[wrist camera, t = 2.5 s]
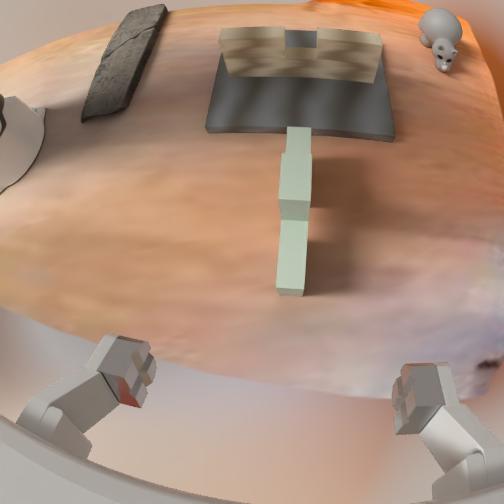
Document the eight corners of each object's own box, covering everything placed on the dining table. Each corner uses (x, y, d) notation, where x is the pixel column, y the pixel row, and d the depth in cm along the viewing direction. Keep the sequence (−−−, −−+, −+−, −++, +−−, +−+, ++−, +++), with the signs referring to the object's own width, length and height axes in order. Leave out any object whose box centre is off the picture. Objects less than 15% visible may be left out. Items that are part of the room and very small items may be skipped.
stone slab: (71, 119, 43) (123, 6, 48) (80, 128, 46) (128, 16, 51) (123, 110, 42) (168, -4, 47) (131, 121, 45) (172, 7, 50)
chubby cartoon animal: (415, 73, 42) (429, 54, 34) (414, 18, 40) (425, -5, 31) (453, 84, 41) (472, 68, 32) (450, 29, 38) (465, 8, 30)
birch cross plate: (208, 133, 40) (188, 90, 32) (228, 38, 44) (217, -3, 36) (392, 142, 37) (411, 100, 28) (375, 43, 41) (383, 2, 32)
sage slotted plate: (301, 296, 34) (306, 282, 22) (279, 294, 35) (271, 279, 23) (308, 162, 38) (312, 96, 26) (289, 160, 38) (285, 95, 26)
